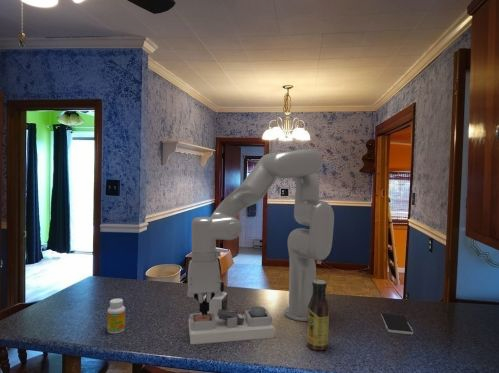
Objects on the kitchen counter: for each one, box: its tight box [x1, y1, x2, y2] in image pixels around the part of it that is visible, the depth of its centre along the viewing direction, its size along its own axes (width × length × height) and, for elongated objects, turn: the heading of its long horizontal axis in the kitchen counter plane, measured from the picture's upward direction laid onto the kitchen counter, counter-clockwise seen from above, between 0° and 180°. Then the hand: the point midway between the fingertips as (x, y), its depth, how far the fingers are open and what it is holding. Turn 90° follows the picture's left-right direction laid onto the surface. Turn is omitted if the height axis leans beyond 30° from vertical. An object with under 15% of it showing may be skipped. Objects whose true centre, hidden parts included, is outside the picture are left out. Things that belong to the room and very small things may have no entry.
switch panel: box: [188, 308, 276, 345], centre depth 115 cm, size 26×12×6 cm, turn 102°
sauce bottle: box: [306, 279, 330, 351], centre depth 106 cm, size 7×6×20 cm
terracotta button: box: [195, 314, 211, 322], centre depth 113 cm, size 5×5×2 cm
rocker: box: [217, 309, 244, 324], centre depth 115 cm, size 8×4×2 cm, turn 102°
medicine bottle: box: [202, 280, 228, 317], centre depth 130 cm, size 7×7×12 cm
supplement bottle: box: [106, 298, 126, 335], centre depth 115 cm, size 5×5×10 cm
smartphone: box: [380, 312, 414, 335], centre depth 124 cm, size 8×1×15 cm
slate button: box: [249, 305, 266, 318], centre depth 117 cm, size 5×5×2 cm
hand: (204, 313), depth 113 cm, fingers closed
